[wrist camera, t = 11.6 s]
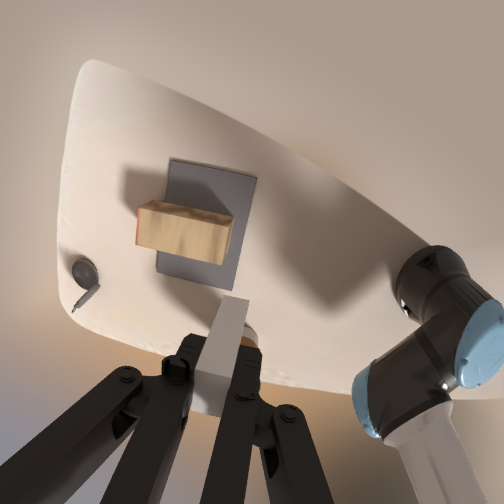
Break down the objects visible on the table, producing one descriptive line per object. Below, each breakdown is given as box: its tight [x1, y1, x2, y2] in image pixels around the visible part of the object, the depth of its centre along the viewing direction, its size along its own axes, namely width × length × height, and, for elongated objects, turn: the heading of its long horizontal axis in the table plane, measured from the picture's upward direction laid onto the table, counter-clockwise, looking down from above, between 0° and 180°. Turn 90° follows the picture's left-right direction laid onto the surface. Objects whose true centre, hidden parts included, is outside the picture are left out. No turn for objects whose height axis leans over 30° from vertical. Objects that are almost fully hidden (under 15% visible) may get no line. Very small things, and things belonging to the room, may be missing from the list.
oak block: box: [135, 200, 234, 265], centre depth 47 cm, size 6×6×14 cm
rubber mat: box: [157, 161, 257, 291], centre depth 51 cm, size 14×20×1 cm
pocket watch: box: [72, 259, 100, 313], centre depth 52 cm, size 8×8×10 cm
